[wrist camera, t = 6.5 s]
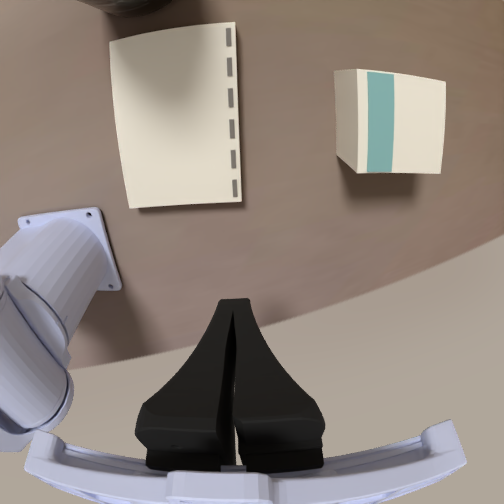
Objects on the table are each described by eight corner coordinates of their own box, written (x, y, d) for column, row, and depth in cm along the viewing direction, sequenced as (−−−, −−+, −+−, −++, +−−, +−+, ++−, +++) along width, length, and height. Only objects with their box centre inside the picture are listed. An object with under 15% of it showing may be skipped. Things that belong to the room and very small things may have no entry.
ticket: (134, 201, 21) (129, 208, 20) (116, 43, 15) (108, 41, 14) (241, 195, 21) (241, 202, 20) (235, 25, 15) (234, 21, 14)
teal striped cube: (335, 154, 20) (357, 173, 16) (333, 70, 16) (357, 69, 13) (408, 154, 20) (440, 174, 16) (410, 78, 16) (446, 82, 12)
